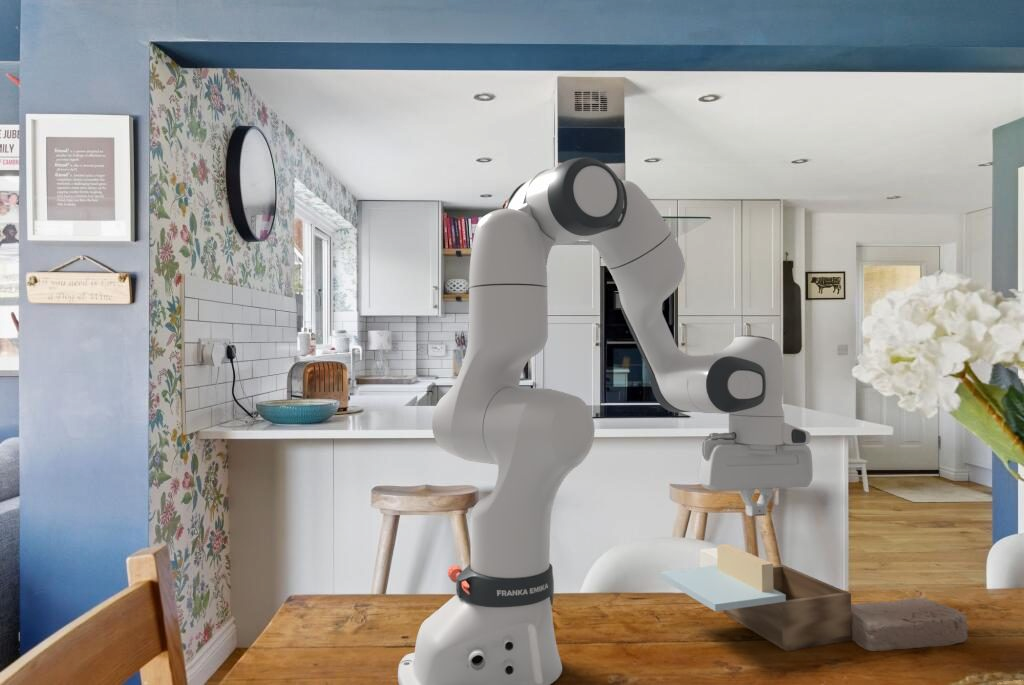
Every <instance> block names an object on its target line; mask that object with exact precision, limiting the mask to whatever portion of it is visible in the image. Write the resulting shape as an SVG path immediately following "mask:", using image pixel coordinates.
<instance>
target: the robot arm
mask: <svg viewBox="0 0 1024 685" xmlns="http://www.w3.org/2000/svg"><path fill="white" fill-rule="evenodd" d="M474 229H475V230H474V233H473V239H472V245H471V253H470V262H469V274H468V334H467V343H466V348H465V349H466V350H465V353H464V354H465V355H464V358H463V361H462V365H461V367H460V370H459V373H458V375H457V377H456V379H455V381H454V382H453V385H452V386H451V387H450V389H449V390H448V391H447V392H446V393H445V394H443V396H441V398H440V399H439V400H438V401H437V403H436V405H435V408H434V410H433V414H432V420H431V426H432V434H433V436H434V439H435V442H436V443H437V445H438V447H439V448H441V449H442V450H443V451H444V452H447V453H449V454H451V455H453V456H454V457H457V458H460V459H463V460H465V461H468V462H474V463H482V464H488V465H496V466H498V472H497V477H496V478H497V479H496V482H495V483H496V484H495V486H494V488H493V490H492V492H491V493H489V494H487V495H485V496H484V497H483V498H481V499H480V500H479V501H477V503H476V504H475V505H474V506H473V508H472V510H471V512H470V520H469V521H470V522H469V523H470V526H469V527H470V563H469V565H468V566H466V567H465V568H464V569H463V570H462V568H461V566H459V565H458V564H452V565H451V566H449V568H448V569H447V577H449V579H450V581H451V582H452V583H455V586H456V588H455V590H456V594H455V595H453V597H451V598H450V599H449V600H448V601H446V603H445V604H443V605H442V606H441V607H440V608H438V609H437V610H436V611H435V612H434V613H432V614H431V615H430V616H429V617H427V618H426V619H425V620H424V621H423V622H422V623H421V625H420V627H419V630H418V631H417V632H418V633H417V635H416V641H415V647H414V652H411V653H407V654H405V655H404V656H403V657H402V659H401V660H400V662H399V664H398V669H397V682H398V685H551V684H553V683H554V682H556V681H557V680H558V679H559V677H560V676H561V674H562V672H563V665H562V661H561V657H560V653H559V651H558V645H557V642H556V635H555V628H554V621H553V613H552V612H553V611H552V606H553V604H554V594H555V593H554V592H555V585H554V584H555V580H554V573H553V572H554V571H553V565H552V563H550V562H551V561H550V558H551V557H550V554H551V553H550V550H551V548H550V545H551V544H550V542H551V541H550V540H551V524H552V522H551V519H552V512H553V506H554V502H555V499H556V496H557V493H558V491H559V489H560V487H561V485H562V483H563V482H564V480H565V478H567V476H568V475H569V474H570V473H571V472H572V471H573V470H574V469H575V468H577V467H578V466H579V465H581V464H582V463H583V462H584V461H585V459H586V458H587V456H588V455H589V453H590V451H591V450H592V449H591V448H592V447H593V444H594V439H595V421H594V418H593V414H592V412H591V410H590V408H589V407H588V405H587V403H586V402H585V401H584V400H583V399H582V398H580V397H579V396H576V395H573V394H571V393H566V392H564V391H560V390H556V389H551V388H542V387H541V388H539V387H538V388H535V387H520V382H521V377H522V373H523V370H524V368H525V366H526V364H527V363H528V361H529V360H530V359H532V358H533V357H535V356H537V355H538V354H539V353H541V352H542V351H543V349H544V347H545V346H546V344H547V342H548V336H549V322H548V321H549V319H548V318H549V317H548V314H549V310H548V309H549V308H548V302H549V301H548V272H547V265H548V258H549V255H550V253H551V249H552V247H554V246H559V245H561V246H562V245H564V246H565V245H568V244H572V243H575V242H577V241H580V240H582V239H585V240H587V241H588V242H589V243H591V244H592V245H593V246H594V248H596V250H597V251H598V253H599V255H600V257H601V259H602V260H603V263H604V264H605V266H606V268H607V270H608V271H609V273H610V274H611V276H612V280H613V281H614V283H615V285H616V287H617V291H618V301H619V302H618V303H619V305H620V306H619V307H620V309H621V313H622V315H623V318H624V320H625V321H626V324H627V327H628V330H629V331H630V334H631V336H632V338H633V339H634V342H635V345H636V346H637V349H638V350H639V353H640V355H641V357H642V359H643V361H644V363H645V366H646V369H647V372H648V375H649V382H650V386H651V390H652V394H653V396H654V398H655V399H656V401H657V403H658V404H659V405H660V406H661V407H662V408H663V409H665V410H666V411H668V412H672V413H676V414H677V413H692V412H693V413H703V414H721V415H722V414H723V415H724V414H725V415H726V414H728V432H722V433H718V432H713V433H712V432H711V433H709V435H708V436H706V437H705V438H704V439H703V440H702V442H701V460H700V466H699V475H698V478H699V479H698V481H699V483H700V485H701V486H702V488H704V489H707V490H710V491H738V490H739V495H740V498H741V500H742V501H743V503H744V504H745V515H746V516H748V517H760V516H761V517H762V516H763V517H764V516H767V513H768V505H769V503H770V502H771V499H772V497H773V495H774V489H783V488H784V489H785V488H786V489H787V488H790V489H791V488H806V487H809V486H810V485H811V483H812V481H813V477H814V476H813V472H814V471H813V455H812V450H811V449H810V447H809V446H808V444H810V442H811V437H812V436H811V433H810V432H809V431H808V430H806V429H805V430H804V429H802V428H800V427H797V426H795V425H792V424H789V423H786V422H785V411H784V408H783V402H782V401H783V395H784V393H785V369H784V360H783V359H784V358H783V354H782V350H781V346H780V345H779V343H778V342H776V340H774V339H772V338H770V337H767V336H766V337H765V336H760V335H759V336H758V335H751V334H750V335H749V334H748V335H746V334H745V335H739V336H736V337H734V338H733V340H732V342H731V343H730V344H729V345H727V346H726V347H724V348H723V349H721V350H719V351H716V352H713V354H706V355H704V354H703V355H690V354H688V353H686V352H684V351H682V350H681V349H680V348H679V347H678V346H677V344H676V342H675V340H674V337H673V334H672V332H671V330H670V328H669V326H668V323H667V321H666V318H665V316H664V314H663V303H664V301H666V300H667V299H668V298H669V297H670V296H671V295H672V294H673V293H674V292H675V291H676V290H677V288H678V287H679V286H680V283H681V282H682V279H683V277H684V274H685V267H686V262H685V259H684V255H683V252H682V250H681V247H680V245H679V243H678V241H677V240H676V238H675V236H674V234H673V232H672V231H671V229H670V227H669V226H668V225H667V222H666V221H665V219H664V218H663V216H662V214H661V212H660V211H659V210H658V208H656V206H655V205H654V203H653V201H651V199H649V197H648V196H647V195H646V194H645V192H644V191H643V190H642V189H641V188H640V187H639V185H637V184H636V183H635V182H632V181H630V180H621V179H620V178H619V177H618V175H617V173H615V171H613V169H611V168H610V167H609V165H607V164H605V163H604V162H602V161H601V160H599V159H597V158H594V157H576V158H571V159H568V160H566V161H563V162H562V163H560V164H559V165H556V166H554V167H551V168H547V169H545V170H542V171H540V172H538V173H537V174H535V175H533V176H532V177H531V178H530V179H528V180H527V181H525V182H523V183H521V184H520V185H519V186H517V187H516V188H515V190H513V192H512V193H511V194H510V196H509V197H508V199H507V200H506V204H505V206H504V207H503V208H501V209H496V210H493V211H490V212H489V213H487V214H485V215H484V216H482V217H481V219H480V220H479V221H478V222H477V224H476V226H475V228H474ZM755 490H757V493H758V494H759V497H758V499H757V502H756V503H755V501H754V499H753V496H755Z"/></svg>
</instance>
